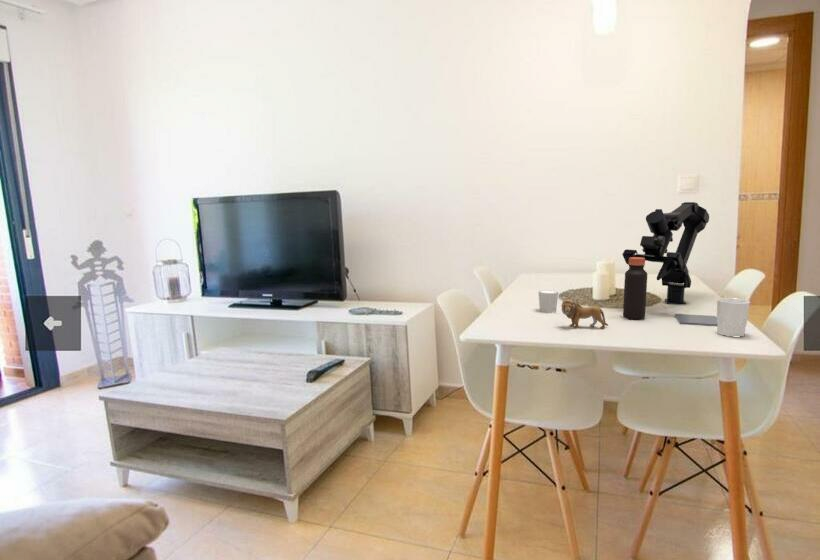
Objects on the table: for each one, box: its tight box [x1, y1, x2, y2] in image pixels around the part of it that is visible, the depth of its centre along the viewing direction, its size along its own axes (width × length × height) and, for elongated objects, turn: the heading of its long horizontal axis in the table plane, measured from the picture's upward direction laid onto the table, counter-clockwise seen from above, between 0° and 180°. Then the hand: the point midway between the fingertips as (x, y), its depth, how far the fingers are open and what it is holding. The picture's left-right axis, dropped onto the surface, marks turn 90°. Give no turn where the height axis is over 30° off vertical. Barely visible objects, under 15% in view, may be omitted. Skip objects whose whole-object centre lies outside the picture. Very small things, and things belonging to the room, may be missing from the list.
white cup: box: [716, 297, 751, 337], centre depth 146 cm, size 8×8×10 cm
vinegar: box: [622, 257, 648, 321], centre depth 167 cm, size 7×7×20 cm
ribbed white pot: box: [538, 289, 559, 314], centre depth 181 cm, size 7×7×7 cm
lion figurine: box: [561, 299, 609, 330], centre depth 157 cm, size 15×5×9 cm, turn 90°
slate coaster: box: [674, 313, 718, 327], centre depth 163 cm, size 12×12×1 cm
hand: (643, 278), depth 170 cm, fingers open, 9 cm apart
